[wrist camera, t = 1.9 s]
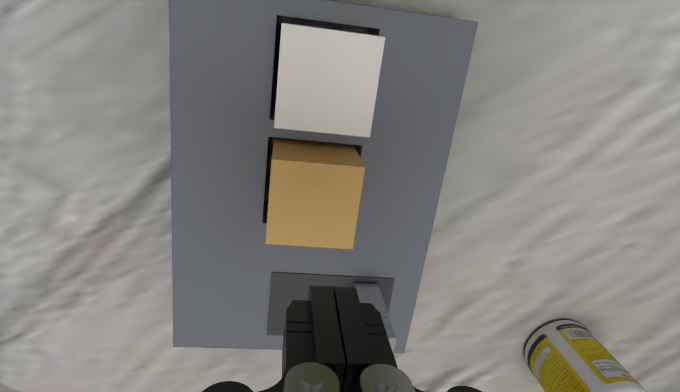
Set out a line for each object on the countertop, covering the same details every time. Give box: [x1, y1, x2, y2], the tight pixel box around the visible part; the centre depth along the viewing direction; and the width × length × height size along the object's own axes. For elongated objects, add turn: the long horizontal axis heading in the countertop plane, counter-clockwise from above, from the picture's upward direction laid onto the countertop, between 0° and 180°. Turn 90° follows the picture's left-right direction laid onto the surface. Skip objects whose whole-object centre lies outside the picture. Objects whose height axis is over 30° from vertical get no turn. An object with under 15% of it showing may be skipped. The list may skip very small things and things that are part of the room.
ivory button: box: [274, 22, 385, 137], centre depth 22 cm, size 4×4×4 cm
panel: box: [169, 0, 478, 353], centre depth 26 cm, size 21×15×3 cm
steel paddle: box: [354, 283, 396, 353], centre depth 25 cm, size 4×2×6 cm, turn 173°
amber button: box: [265, 138, 365, 249], centre depth 24 cm, size 4×4×4 cm
